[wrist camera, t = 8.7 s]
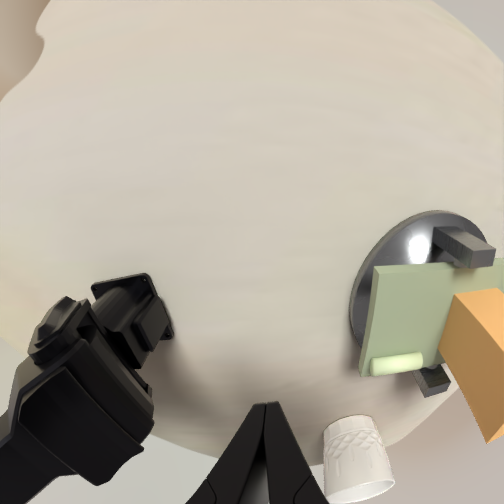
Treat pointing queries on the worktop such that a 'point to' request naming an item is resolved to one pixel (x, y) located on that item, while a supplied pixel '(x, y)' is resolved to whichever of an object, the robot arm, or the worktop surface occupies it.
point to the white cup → (354, 461)
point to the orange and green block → (441, 330)
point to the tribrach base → (419, 252)
